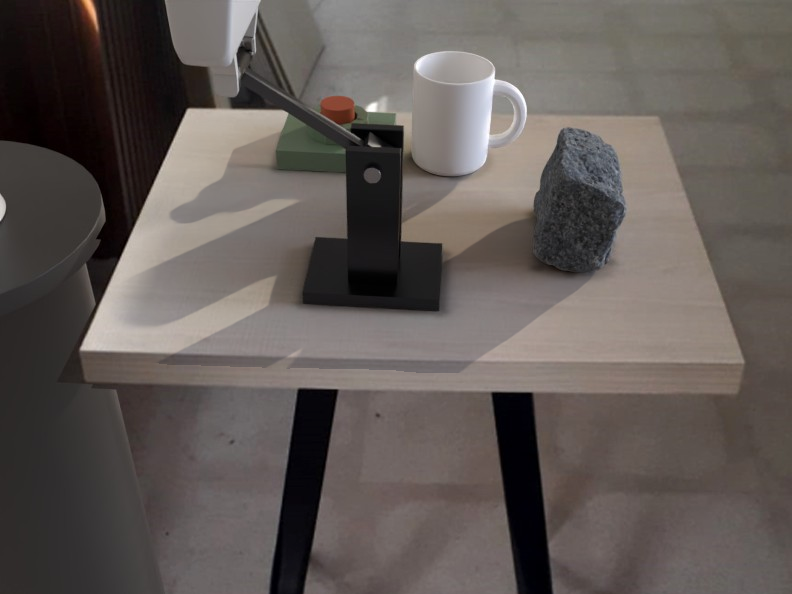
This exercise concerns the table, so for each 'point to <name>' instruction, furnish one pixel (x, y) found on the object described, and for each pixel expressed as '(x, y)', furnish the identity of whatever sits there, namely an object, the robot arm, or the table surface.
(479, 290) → the table surface
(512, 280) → the table surface
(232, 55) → the robot arm
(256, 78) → the press lever
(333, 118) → the stop button
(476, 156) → the mug
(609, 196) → the stone
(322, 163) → the button block
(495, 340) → the table surface
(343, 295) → the lever bracket
